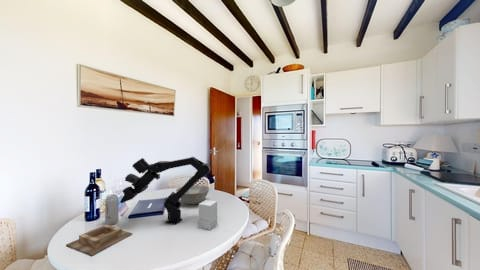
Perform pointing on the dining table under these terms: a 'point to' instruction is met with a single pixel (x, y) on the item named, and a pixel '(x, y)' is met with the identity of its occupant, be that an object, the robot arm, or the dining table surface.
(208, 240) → the dining table surface
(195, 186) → the ceramic bowl
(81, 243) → the socket board
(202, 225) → the supplement box
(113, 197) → the energy drink can
